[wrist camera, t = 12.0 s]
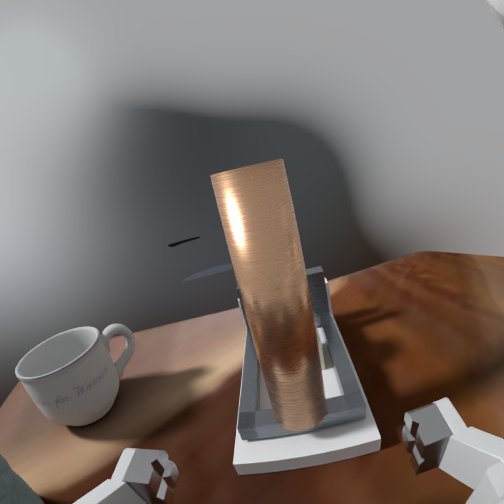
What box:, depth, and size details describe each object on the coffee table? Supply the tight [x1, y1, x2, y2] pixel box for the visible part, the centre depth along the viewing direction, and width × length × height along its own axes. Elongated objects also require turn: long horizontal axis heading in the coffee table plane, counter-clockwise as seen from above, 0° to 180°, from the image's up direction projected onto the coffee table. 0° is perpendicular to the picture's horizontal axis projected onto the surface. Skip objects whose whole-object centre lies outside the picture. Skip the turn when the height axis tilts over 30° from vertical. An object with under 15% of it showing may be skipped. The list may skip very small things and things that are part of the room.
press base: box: [233, 278, 381, 475], centre depth 25 cm, size 10×20×9 cm, turn 178°
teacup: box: [15, 324, 135, 426], centre depth 27 cm, size 14×11×8 cm
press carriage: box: [211, 159, 366, 440], centre depth 23 cm, size 9×17×17 cm, turn 178°
